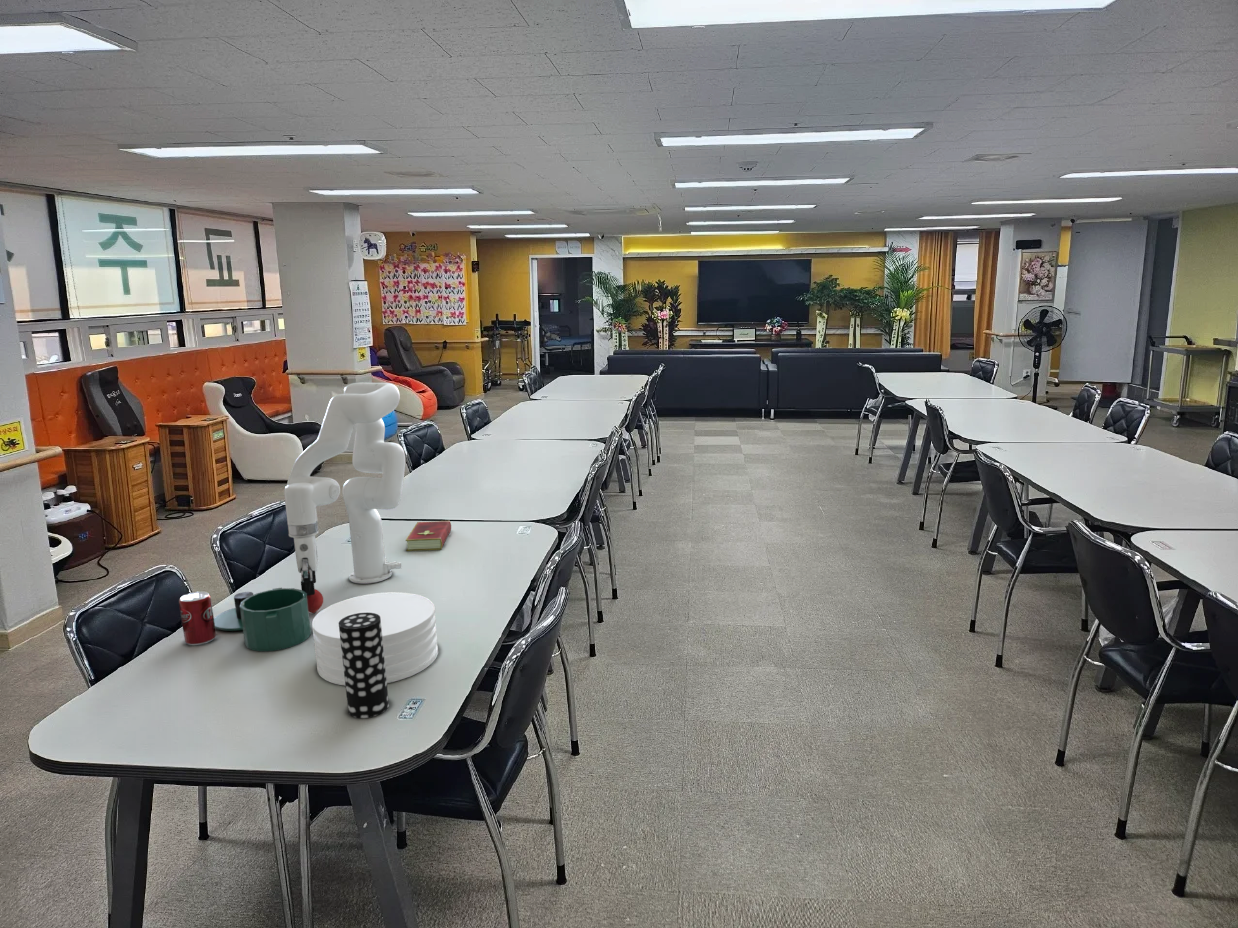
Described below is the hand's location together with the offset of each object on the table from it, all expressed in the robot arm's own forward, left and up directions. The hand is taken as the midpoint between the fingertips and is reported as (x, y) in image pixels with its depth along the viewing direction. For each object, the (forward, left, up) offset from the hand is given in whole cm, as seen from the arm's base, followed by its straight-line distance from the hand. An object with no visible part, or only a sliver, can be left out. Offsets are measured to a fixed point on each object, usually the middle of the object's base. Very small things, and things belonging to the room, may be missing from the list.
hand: (309, 589), depth 225 cm
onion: (0, 0, -8) cm, 8 cm away
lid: (+17, -2, -7) cm, 18 cm away
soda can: (+27, +8, -8) cm, 29 cm away
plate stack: (-16, +36, -8) cm, 40 cm away
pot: (+8, +14, -7) cm, 17 cm away
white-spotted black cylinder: (-13, +60, -8) cm, 61 cm away
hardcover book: (-37, -55, -8) cm, 66 cm away
